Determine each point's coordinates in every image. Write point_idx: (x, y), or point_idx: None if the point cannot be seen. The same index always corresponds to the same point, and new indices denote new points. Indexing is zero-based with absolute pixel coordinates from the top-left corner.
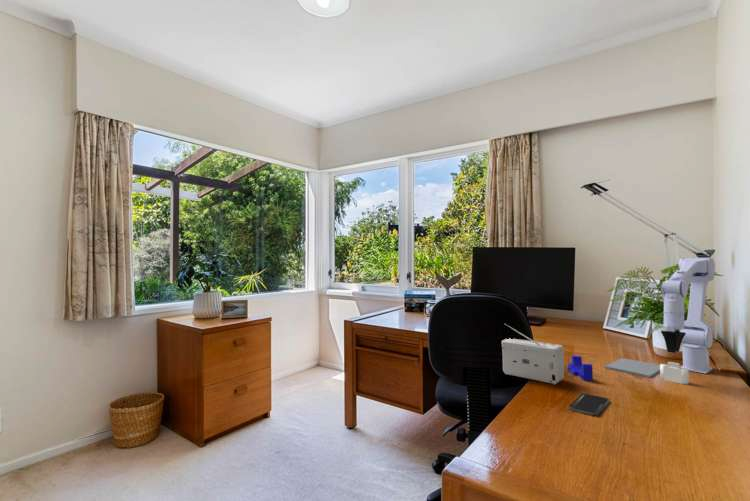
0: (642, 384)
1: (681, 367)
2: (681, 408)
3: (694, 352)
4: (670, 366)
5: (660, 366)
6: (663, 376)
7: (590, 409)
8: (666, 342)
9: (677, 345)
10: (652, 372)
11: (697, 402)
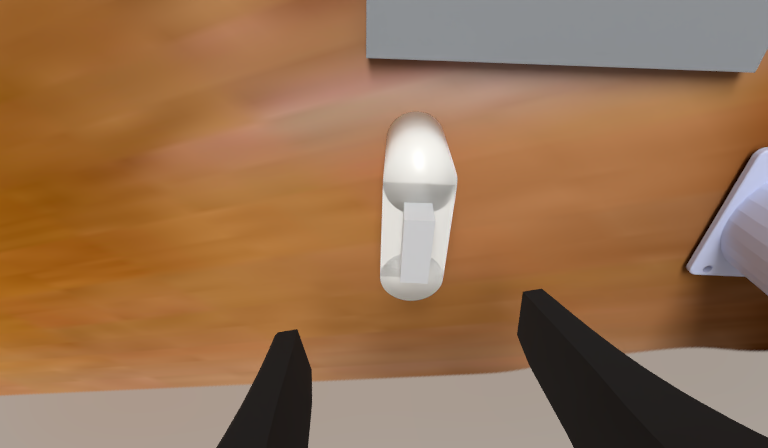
0: (167, 65)
1: (440, 267)
2: (25, 278)
3: None
4: (401, 220)
5: (396, 152)
6: (386, 144)
7: None
8: (229, 439)
9: (555, 388)
10: (474, 47)
11: (159, 301)
